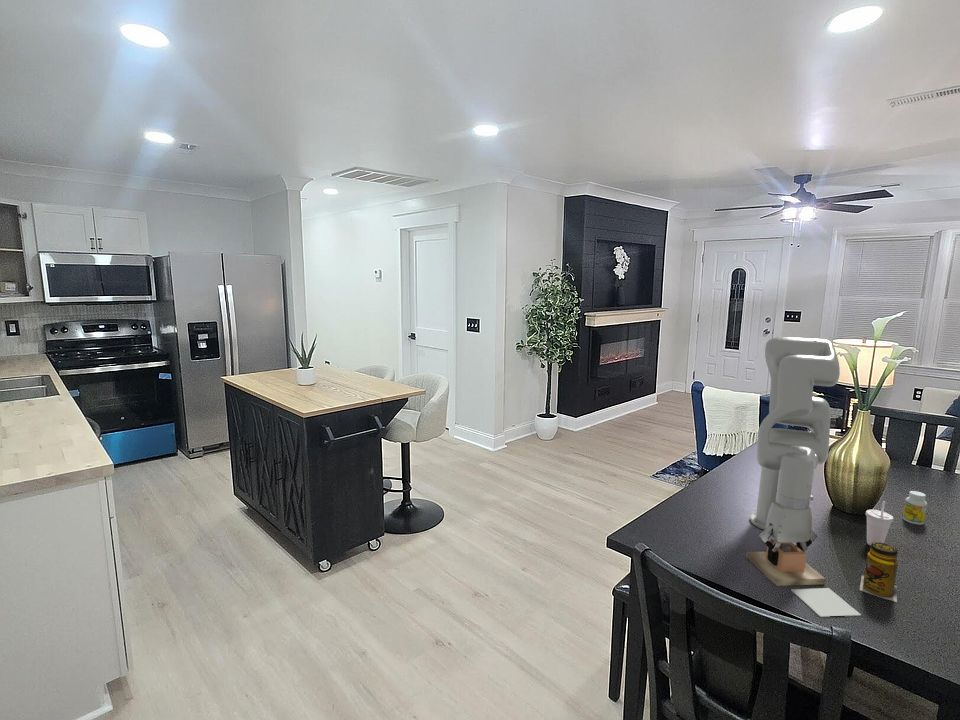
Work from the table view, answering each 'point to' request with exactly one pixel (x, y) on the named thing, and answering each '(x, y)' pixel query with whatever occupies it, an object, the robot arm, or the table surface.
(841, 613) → the mat
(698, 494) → the table surface
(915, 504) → the supplement bottle
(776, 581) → the stand
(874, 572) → the condiment
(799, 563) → the peach open box
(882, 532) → the smoothie
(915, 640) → the table surface
